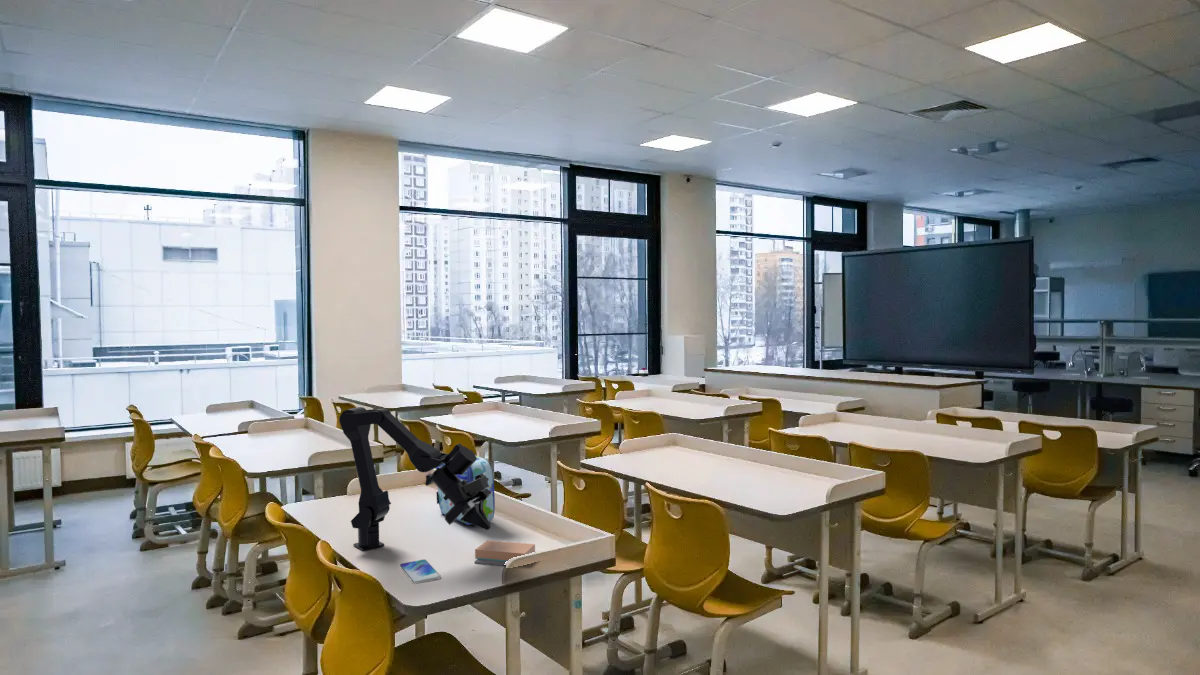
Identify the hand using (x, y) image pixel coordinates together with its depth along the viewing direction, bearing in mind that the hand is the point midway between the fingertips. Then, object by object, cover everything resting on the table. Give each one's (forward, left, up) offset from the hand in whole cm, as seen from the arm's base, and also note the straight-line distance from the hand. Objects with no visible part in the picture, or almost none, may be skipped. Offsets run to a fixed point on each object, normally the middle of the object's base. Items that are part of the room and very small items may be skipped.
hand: (489, 528), depth 200 cm
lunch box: (-36, +15, -8) cm, 40 cm away
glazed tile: (-2, -1, -6) cm, 6 cm away
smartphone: (-3, -20, -8) cm, 21 cm away
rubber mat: (+3, +2, -8) cm, 8 cm away
